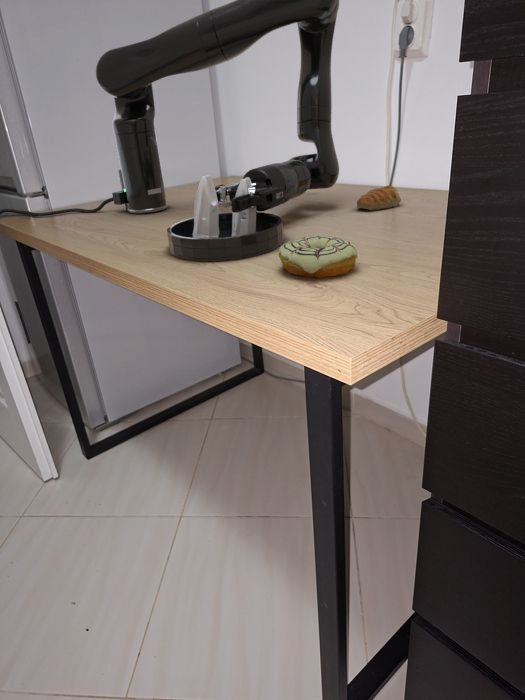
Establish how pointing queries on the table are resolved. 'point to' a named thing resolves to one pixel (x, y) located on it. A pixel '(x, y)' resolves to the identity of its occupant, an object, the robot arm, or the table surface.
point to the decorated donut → (318, 256)
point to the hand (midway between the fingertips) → (214, 205)
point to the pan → (226, 239)
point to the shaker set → (209, 214)
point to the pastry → (379, 198)
